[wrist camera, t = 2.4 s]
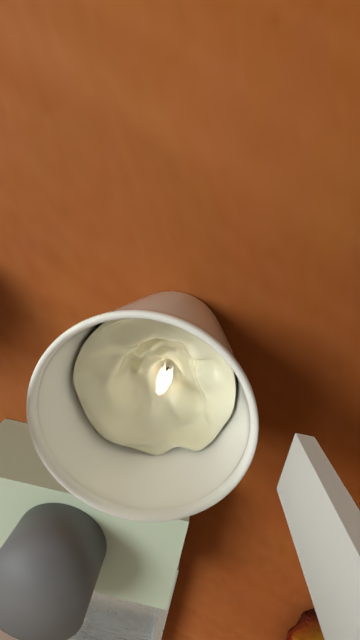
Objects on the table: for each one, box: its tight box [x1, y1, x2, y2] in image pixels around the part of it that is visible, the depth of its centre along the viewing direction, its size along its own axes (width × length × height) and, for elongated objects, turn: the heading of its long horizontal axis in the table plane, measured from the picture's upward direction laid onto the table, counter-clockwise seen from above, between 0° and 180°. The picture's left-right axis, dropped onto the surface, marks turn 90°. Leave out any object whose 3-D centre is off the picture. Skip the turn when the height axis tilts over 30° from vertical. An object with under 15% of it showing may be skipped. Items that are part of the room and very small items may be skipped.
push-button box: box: [0, 419, 189, 640], centre depth 22 cm, size 18×9×10 cm, turn 79°
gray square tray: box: [67, 560, 180, 640], centre depth 29 cm, size 14×14×2 cm
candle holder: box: [26, 291, 259, 522], centre depth 17 cm, size 10×10×12 cm
